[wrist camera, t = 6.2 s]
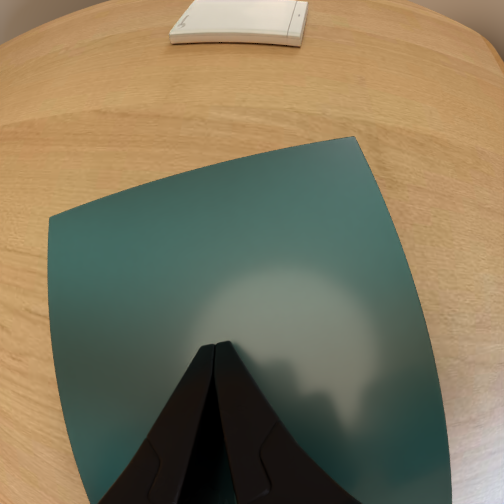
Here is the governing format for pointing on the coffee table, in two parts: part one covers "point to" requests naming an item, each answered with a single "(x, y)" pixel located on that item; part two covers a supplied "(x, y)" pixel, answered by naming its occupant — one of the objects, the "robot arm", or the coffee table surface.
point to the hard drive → (242, 22)
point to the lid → (251, 316)
